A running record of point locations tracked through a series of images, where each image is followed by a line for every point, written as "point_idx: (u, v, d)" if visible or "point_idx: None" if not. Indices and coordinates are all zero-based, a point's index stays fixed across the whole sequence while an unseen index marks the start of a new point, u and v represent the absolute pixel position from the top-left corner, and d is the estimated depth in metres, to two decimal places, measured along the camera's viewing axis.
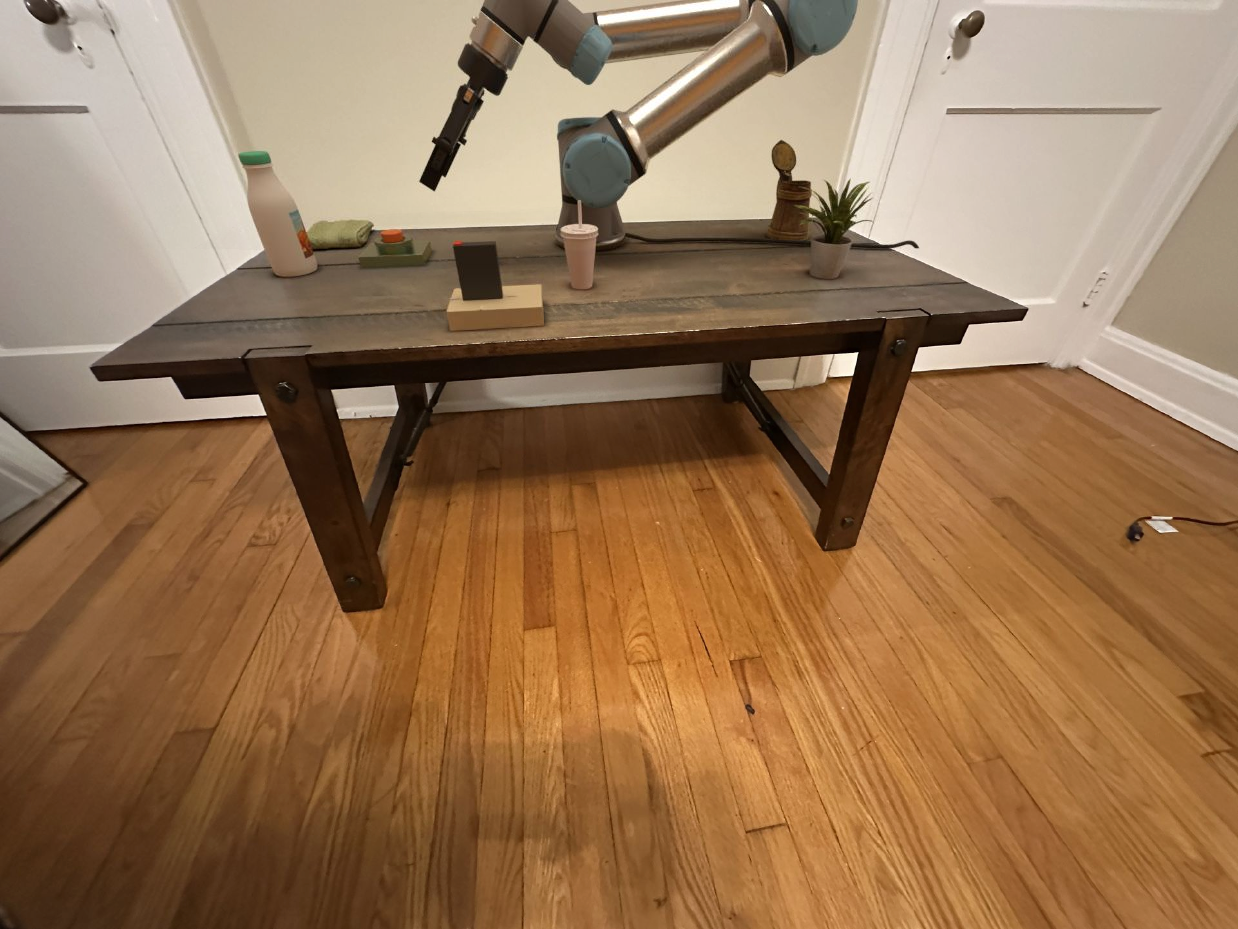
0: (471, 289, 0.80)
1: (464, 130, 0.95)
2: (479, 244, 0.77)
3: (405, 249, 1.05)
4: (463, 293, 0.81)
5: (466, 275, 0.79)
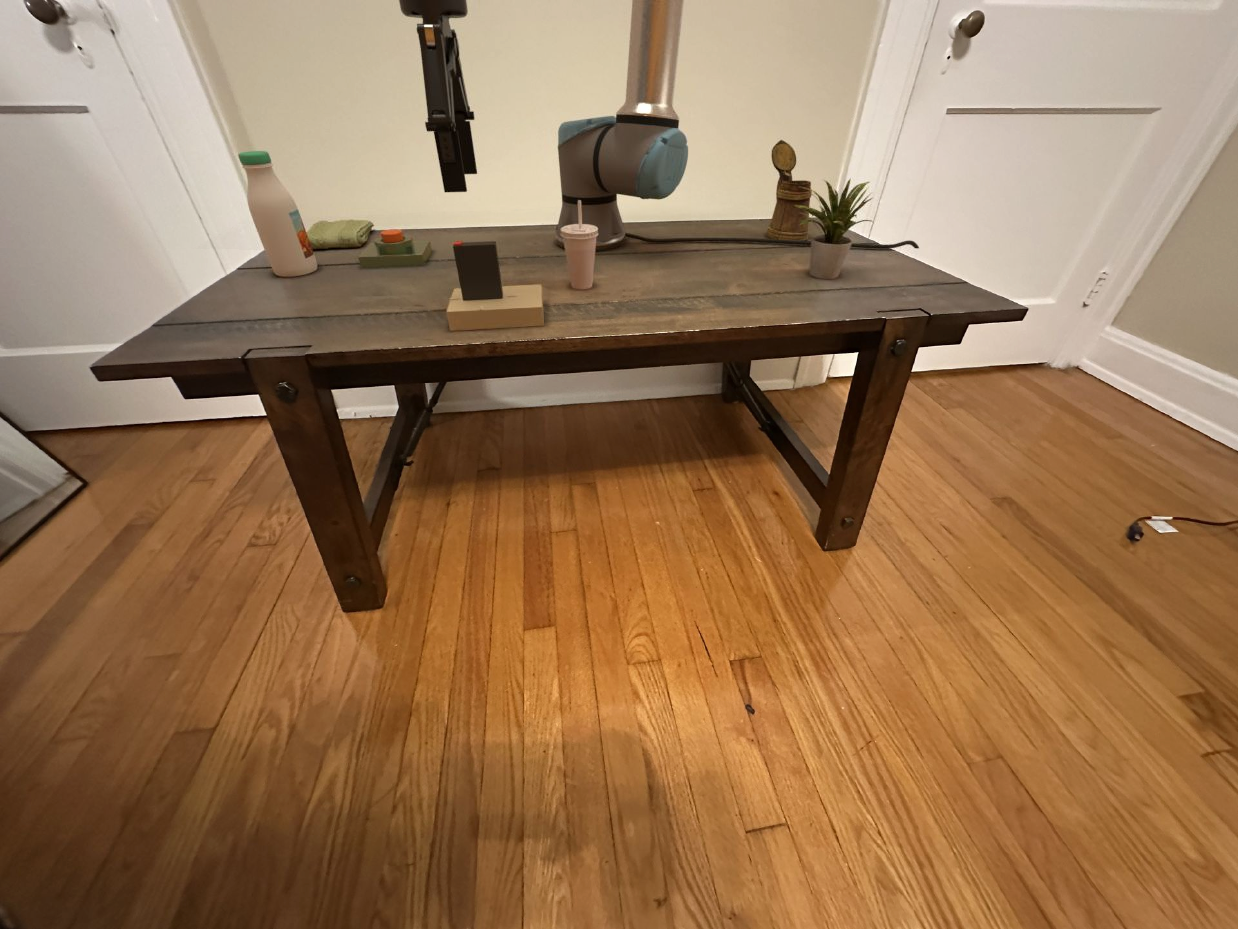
0: (471, 289, 0.80)
1: (462, 99, 0.71)
2: (479, 244, 0.77)
3: (405, 249, 1.05)
4: (463, 293, 0.81)
5: (466, 275, 0.79)
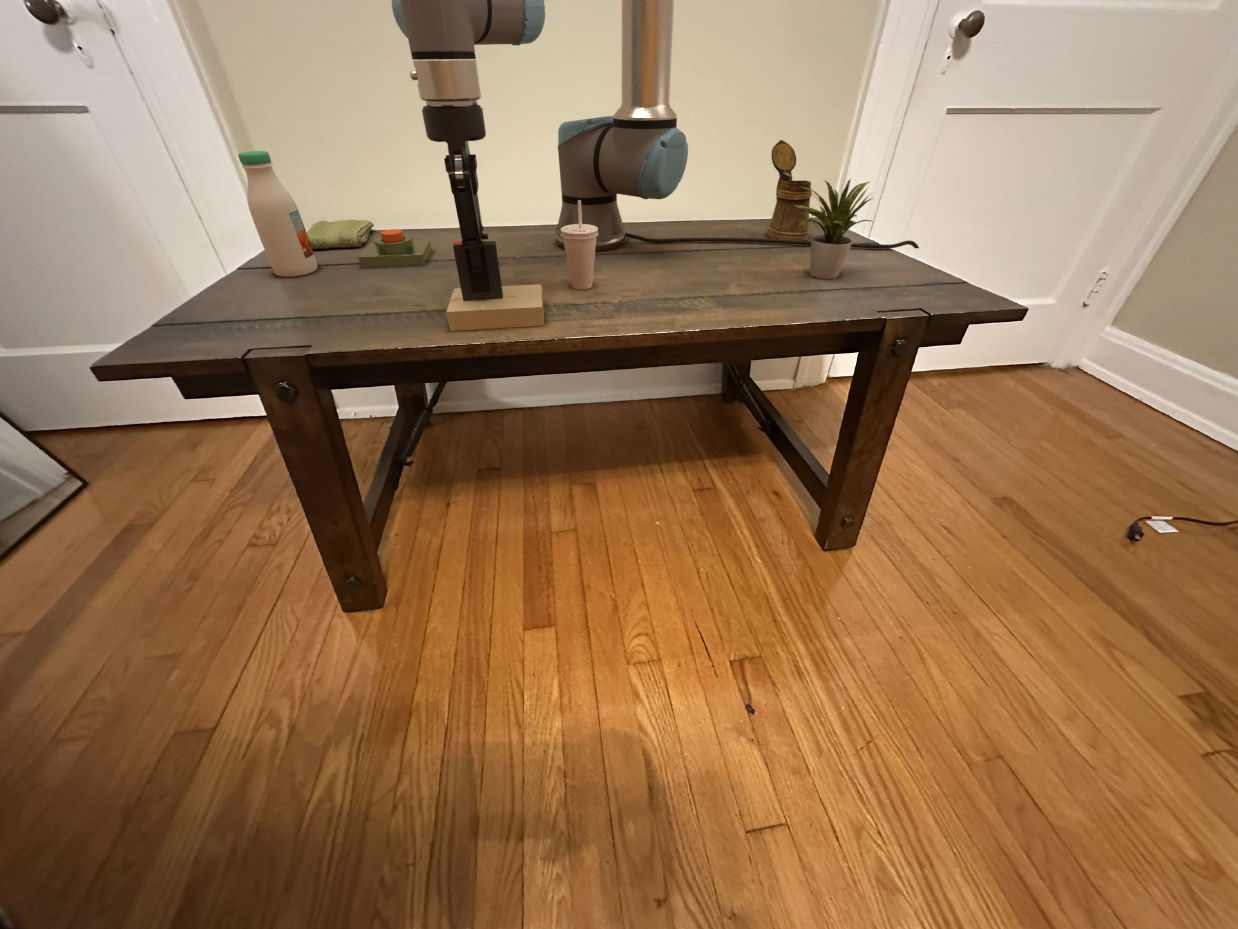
0: (471, 289, 0.80)
1: (477, 214, 0.76)
2: None
3: (405, 249, 1.05)
4: (463, 293, 0.80)
5: (466, 275, 0.79)
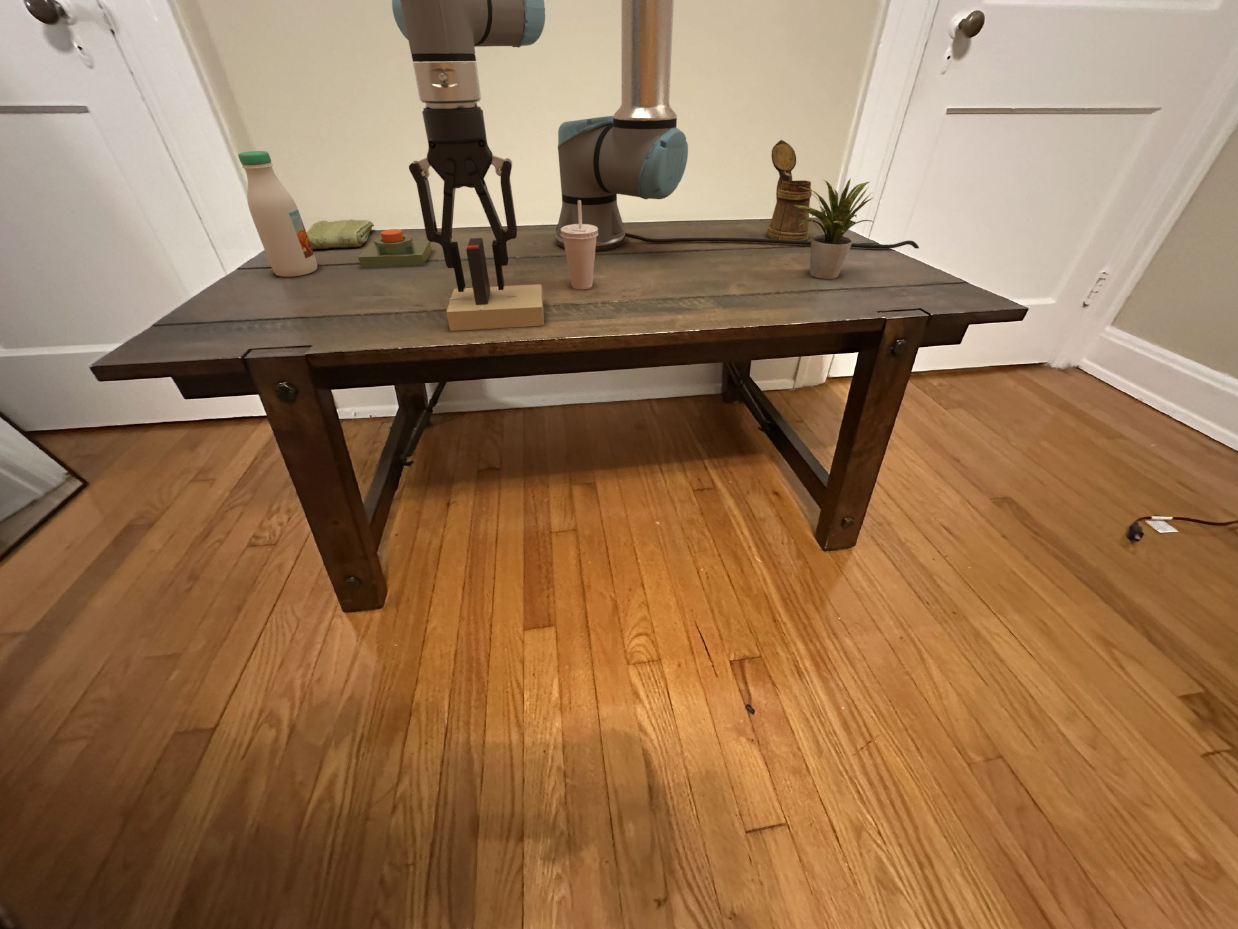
0: (486, 289, 0.80)
1: None
2: (478, 242, 0.78)
3: (405, 249, 1.05)
4: (486, 296, 0.79)
5: (484, 276, 0.79)
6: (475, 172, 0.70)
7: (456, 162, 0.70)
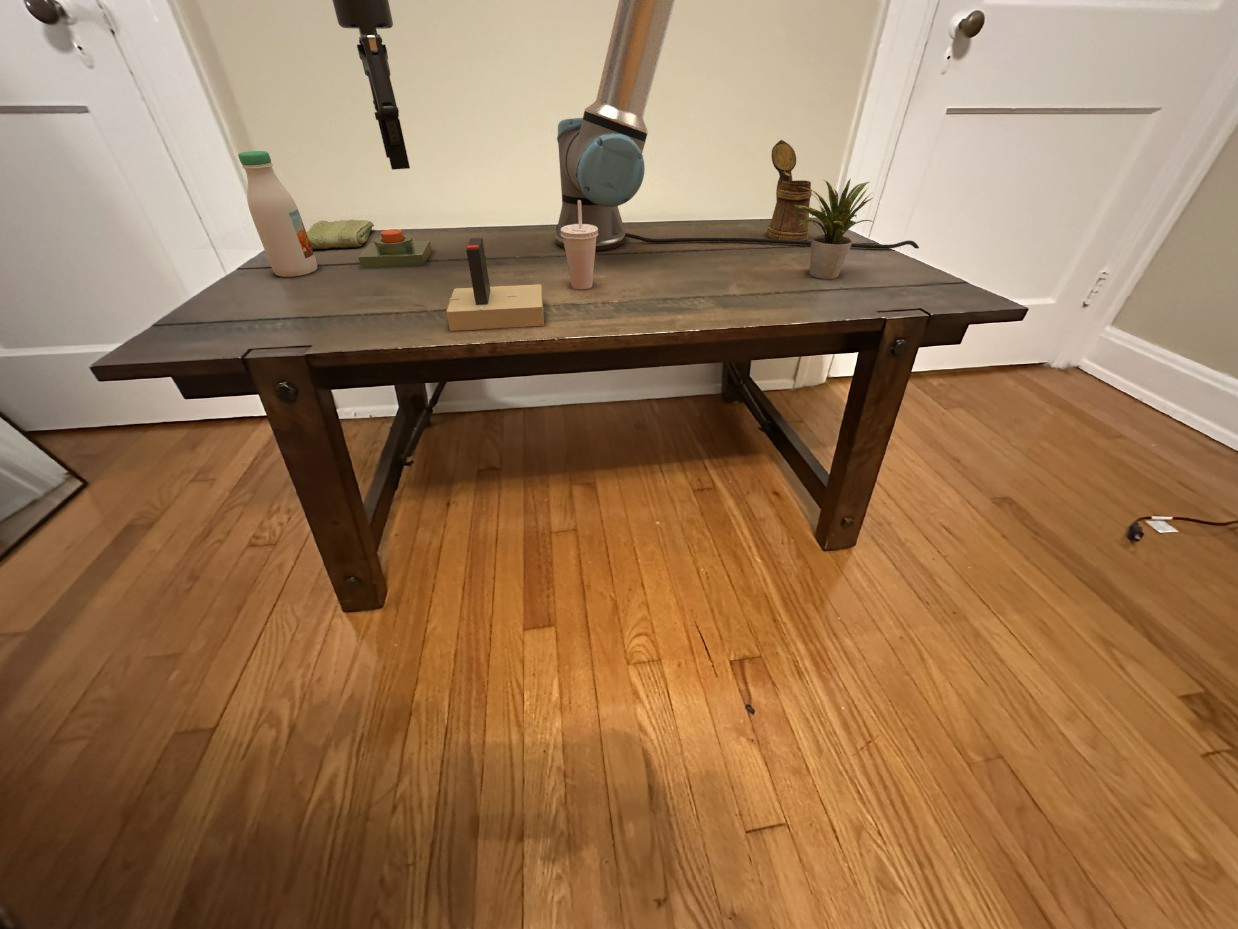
0: (486, 289, 0.80)
1: None
2: (478, 242, 0.78)
3: (405, 249, 1.05)
4: (486, 296, 0.79)
5: (484, 276, 0.79)
6: (361, 57, 0.78)
7: None
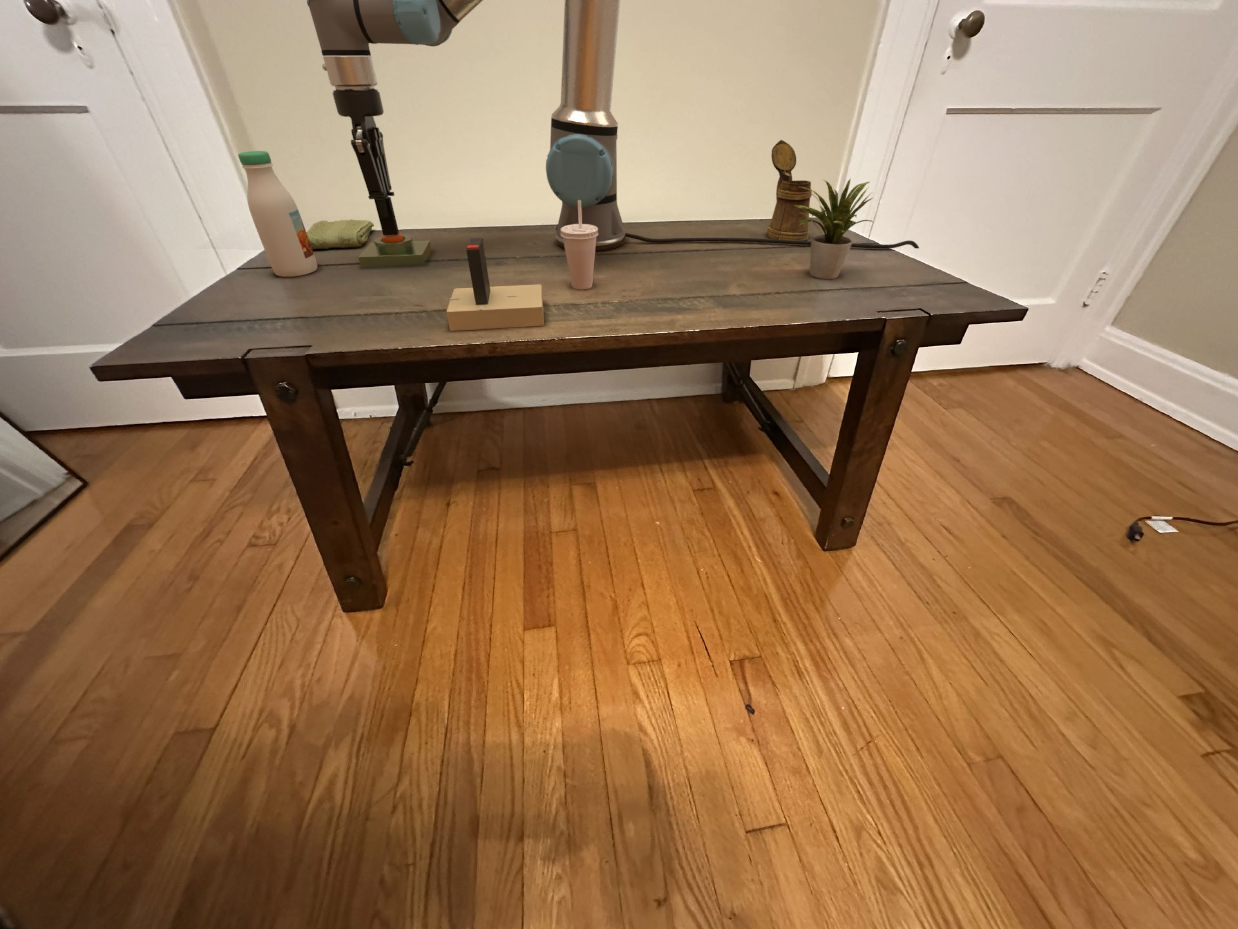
0: (486, 289, 0.80)
1: (383, 175, 0.99)
2: (478, 242, 0.78)
3: (405, 249, 1.05)
4: (486, 296, 0.79)
5: (484, 276, 0.79)
6: (354, 139, 0.94)
7: None
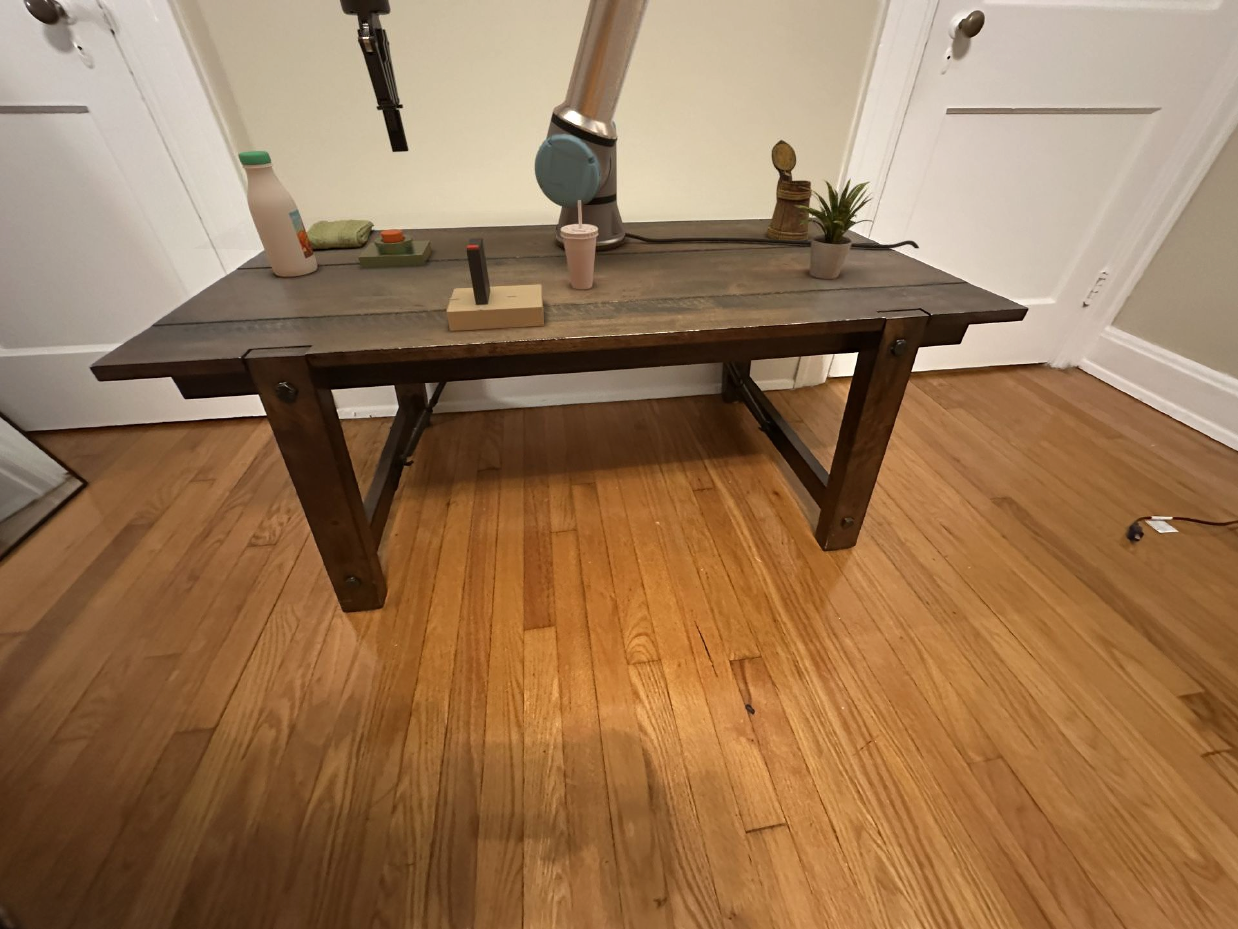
0: (486, 289, 0.80)
1: (391, 83, 0.94)
2: (478, 242, 0.78)
3: (405, 249, 1.05)
4: (486, 296, 0.79)
5: (484, 276, 0.79)
6: None
7: None
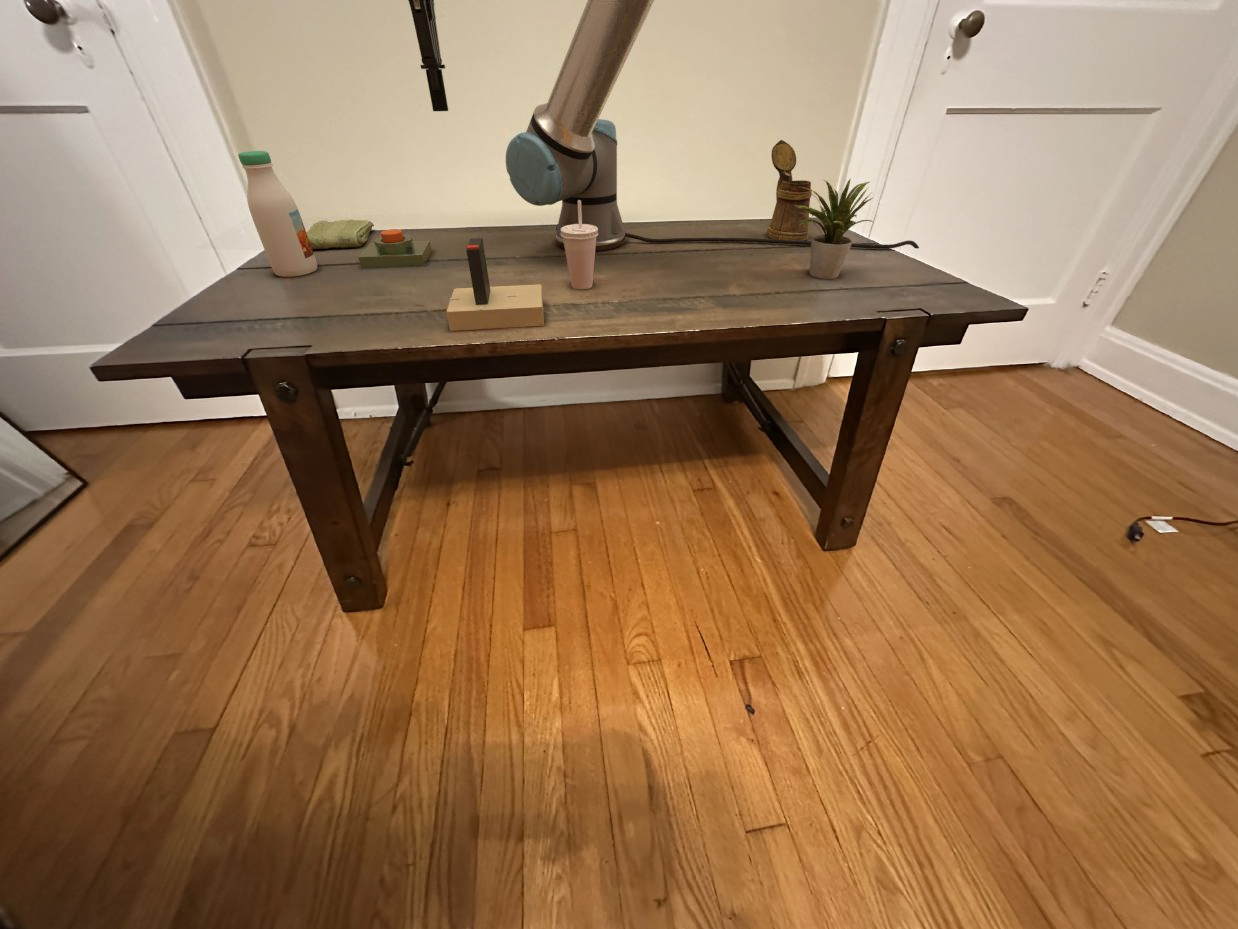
0: (486, 289, 0.80)
1: (435, 43, 0.97)
2: (478, 242, 0.78)
3: (405, 249, 1.05)
4: (486, 296, 0.79)
5: (484, 276, 0.79)
6: None
7: None
